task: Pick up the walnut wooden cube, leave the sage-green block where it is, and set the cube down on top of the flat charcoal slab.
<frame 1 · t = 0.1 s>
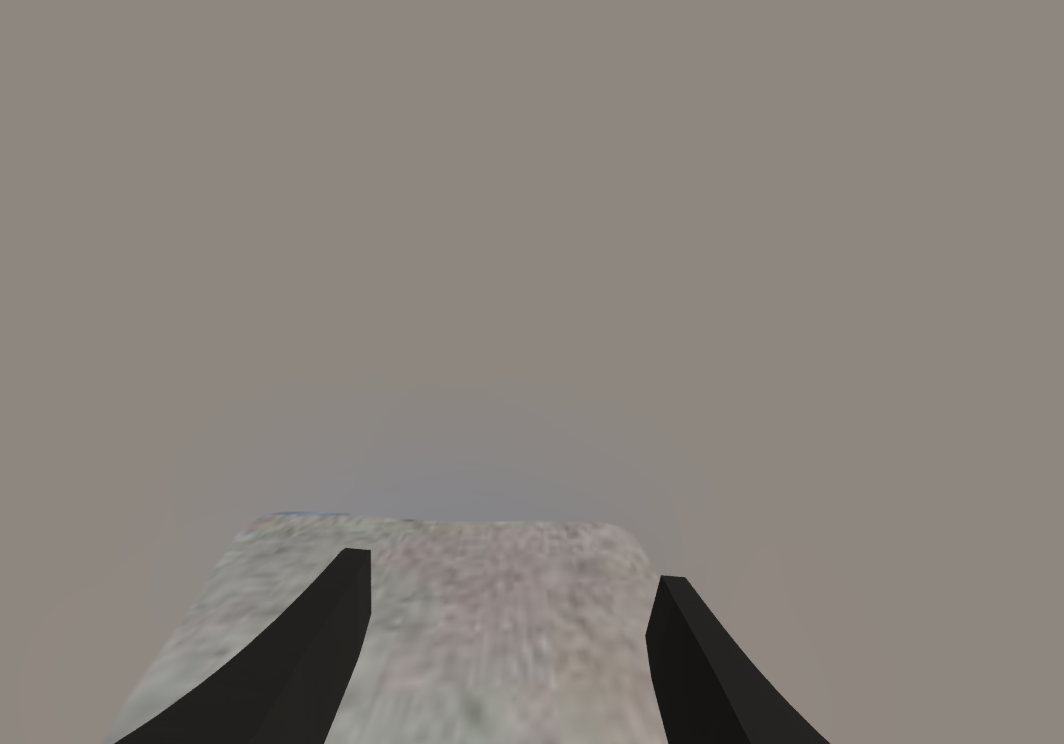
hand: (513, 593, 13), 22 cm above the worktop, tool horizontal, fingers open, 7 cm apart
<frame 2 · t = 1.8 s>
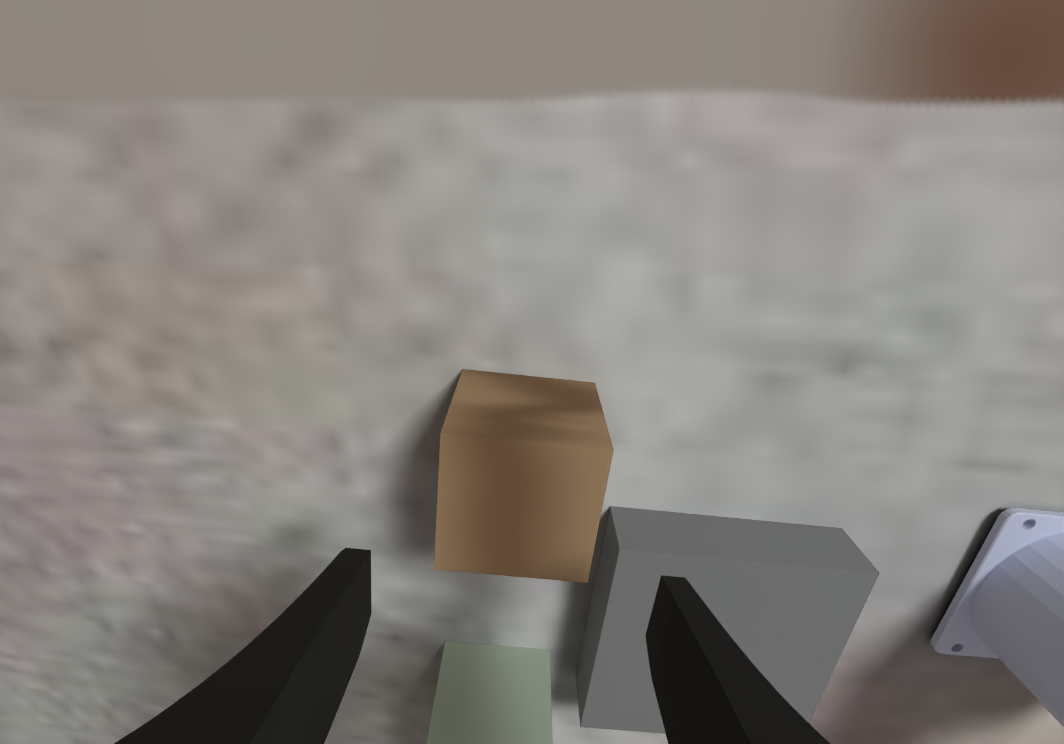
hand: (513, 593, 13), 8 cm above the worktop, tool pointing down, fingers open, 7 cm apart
walnut cube: (522, 433, 20), on the worktop
charcoal slab: (696, 598, 24), on the worktop
sage block: (493, 680, 26), on the worktop
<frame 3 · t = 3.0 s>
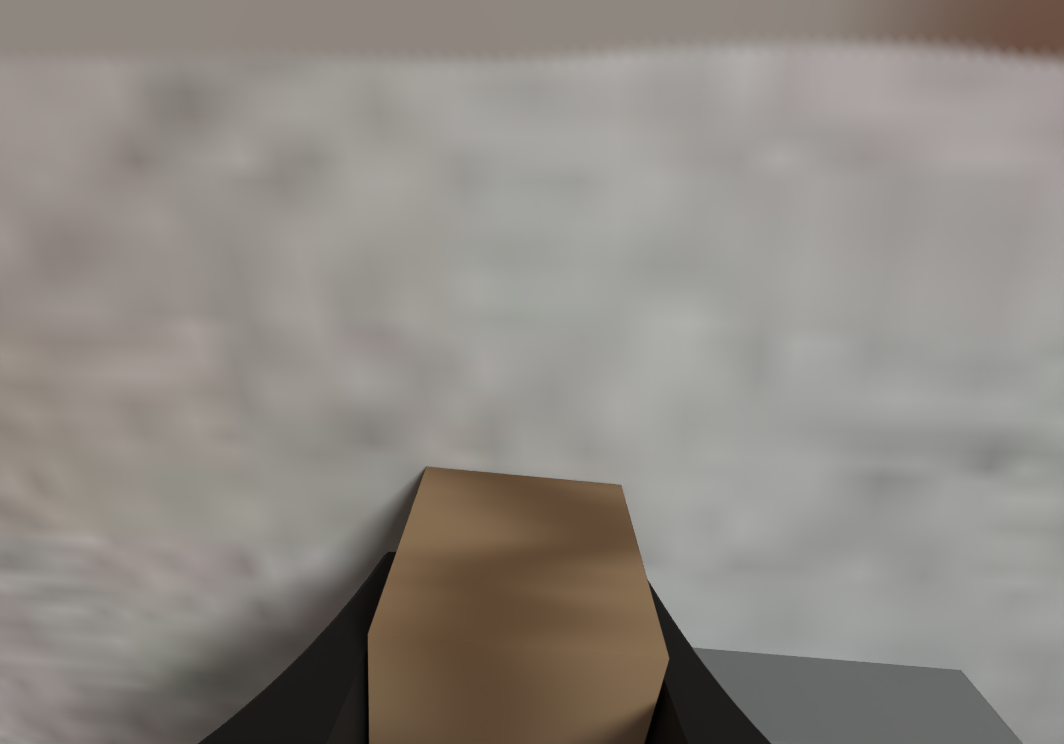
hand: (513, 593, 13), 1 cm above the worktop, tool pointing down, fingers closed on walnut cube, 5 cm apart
walnut cube: (514, 553, 14), on the worktop, touching gripper
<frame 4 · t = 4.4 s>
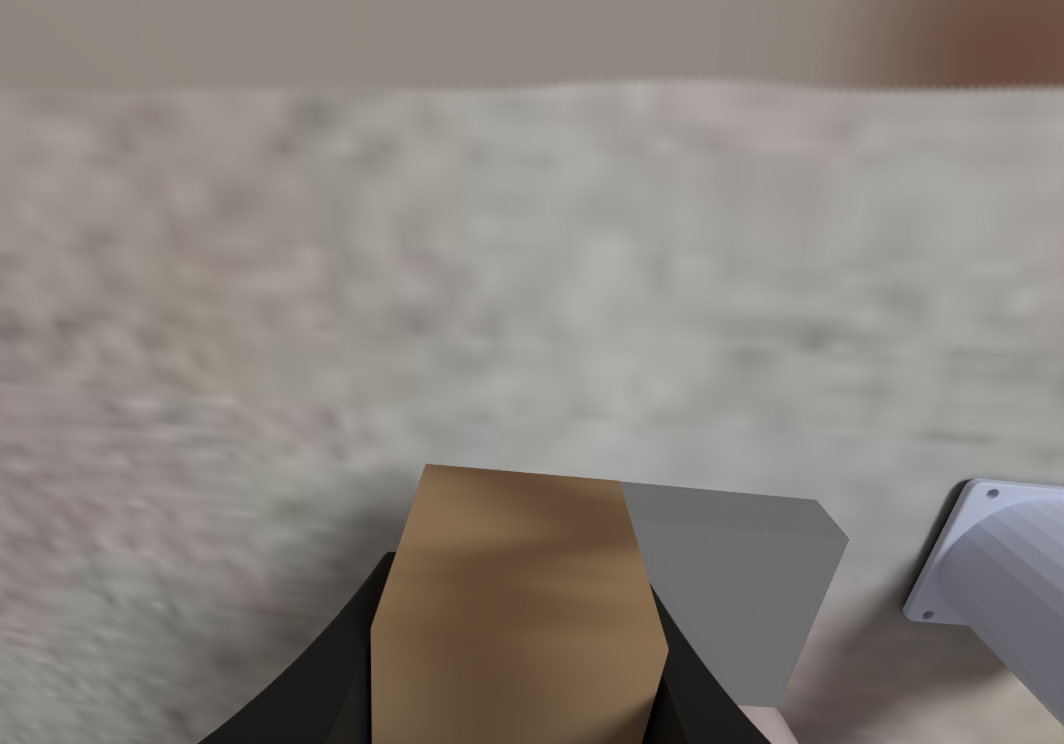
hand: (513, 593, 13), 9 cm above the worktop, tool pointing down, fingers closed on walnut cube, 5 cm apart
walnut cube: (514, 549, 14), point 8 cm above the worktop, touching gripper
smoothie: (747, 721, 29), on the worktop
charcoal slab: (679, 570, 25), on the worktop
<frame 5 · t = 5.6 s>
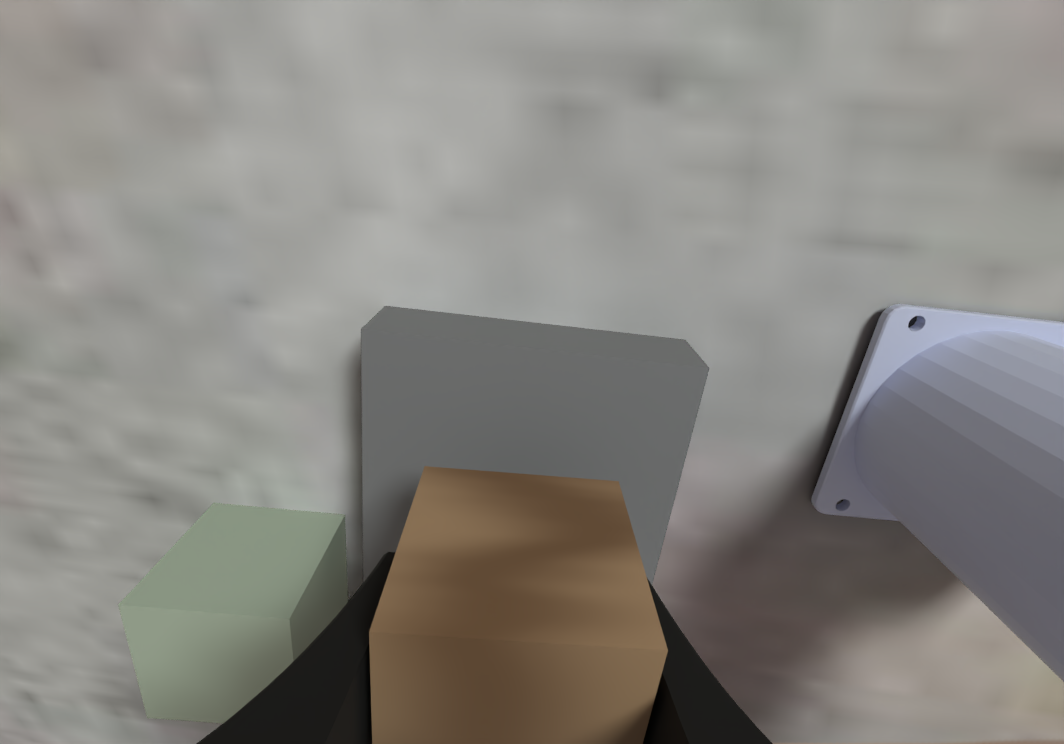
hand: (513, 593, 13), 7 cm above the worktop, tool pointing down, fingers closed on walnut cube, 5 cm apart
walnut cube: (514, 550, 14), point 5 cm above the worktop, touching gripper
charcoal slab: (521, 447, 19), on the worktop
sage block: (285, 558, 21), on the worktop
when the fingers open (5 cm above the worktop, at t = 6.3 s): walnut cube drops 1 cm, point 2 cm above the worktop.
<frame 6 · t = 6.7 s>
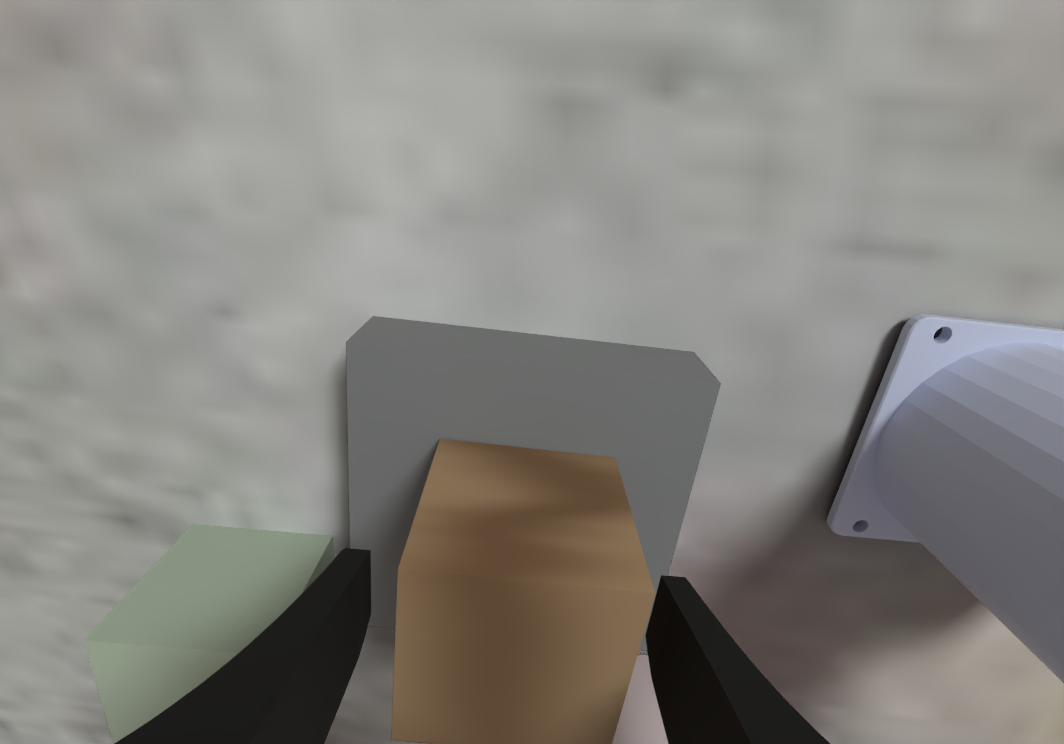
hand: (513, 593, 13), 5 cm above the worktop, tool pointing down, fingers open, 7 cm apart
walnut cube: (517, 519, 15), point 2 cm above the worktop
smoothie: (635, 681, 22), on the worktop
charcoal slab: (519, 463, 18), on the worktop
sage block: (269, 581, 20), on the worktop
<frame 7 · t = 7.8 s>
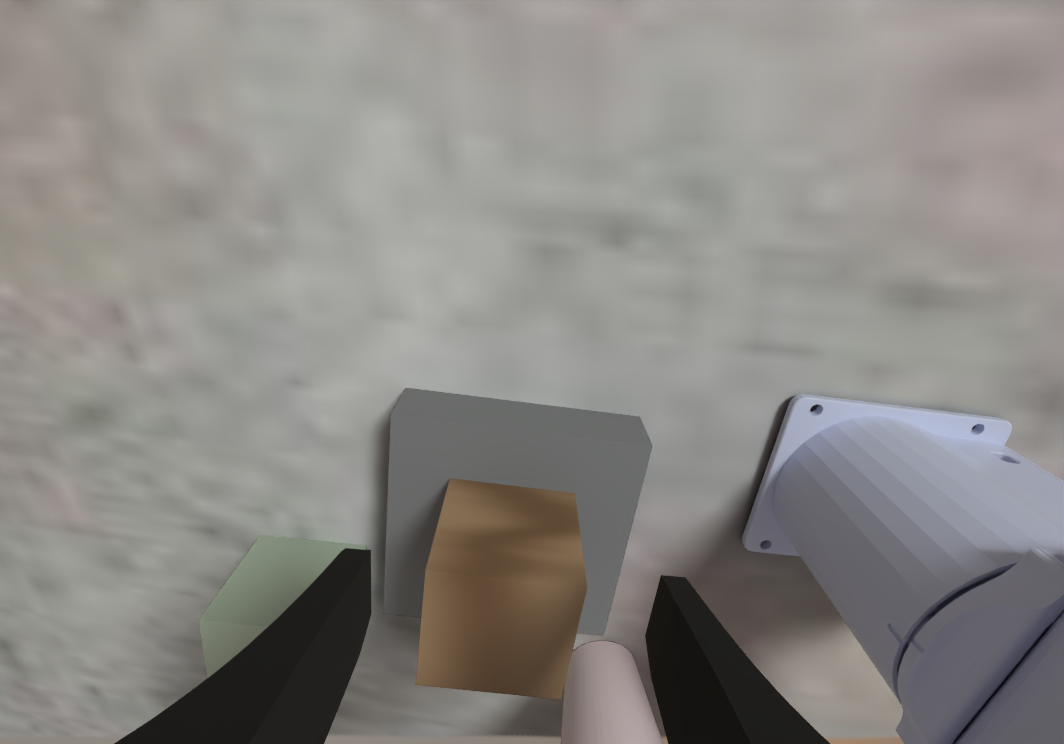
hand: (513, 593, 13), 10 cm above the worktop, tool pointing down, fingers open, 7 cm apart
walnut cube: (505, 536, 21), point 2 cm above the worktop, touching charcoal slab
smoothie: (599, 662, 28), on the worktop
charcoal slab: (510, 493, 24), on the worktop, touching walnut cube
sage block: (316, 579, 26), on the worktop
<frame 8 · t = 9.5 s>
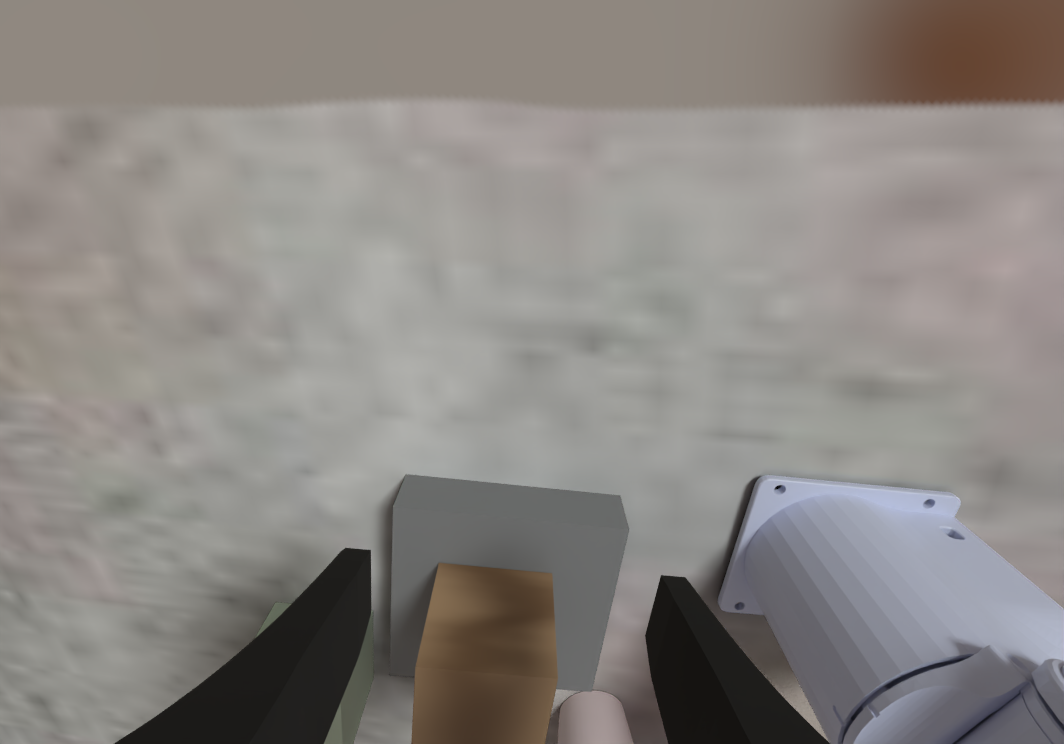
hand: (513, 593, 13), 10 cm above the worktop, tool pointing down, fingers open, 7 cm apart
walnut cube: (490, 610, 24), point 2 cm above the worktop, touching charcoal slab
smoothie: (591, 709, 30), on the worktop
charcoal slab: (504, 560, 26), on the worktop, touching walnut cube
sage block: (327, 639, 28), on the worktop
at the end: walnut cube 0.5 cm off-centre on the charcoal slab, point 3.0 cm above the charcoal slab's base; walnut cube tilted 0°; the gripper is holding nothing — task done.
